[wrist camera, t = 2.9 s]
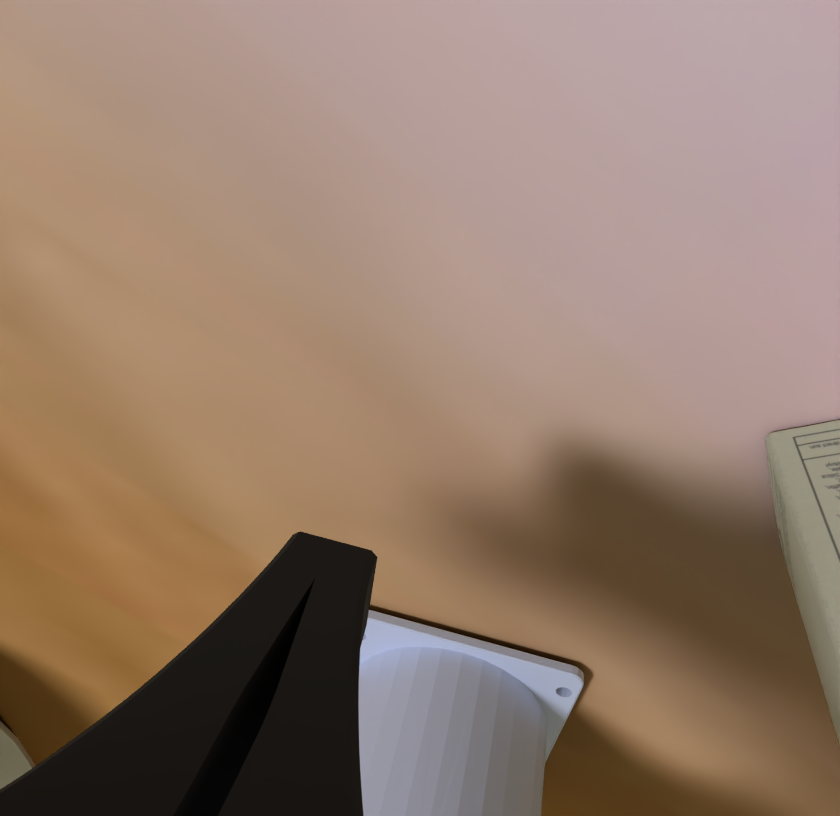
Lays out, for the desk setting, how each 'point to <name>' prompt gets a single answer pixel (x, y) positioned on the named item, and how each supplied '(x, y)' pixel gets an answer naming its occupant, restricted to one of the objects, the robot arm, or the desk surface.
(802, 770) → the desk surface
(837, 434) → the skincare box
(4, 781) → the portable electronic device stand
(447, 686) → the robot arm
